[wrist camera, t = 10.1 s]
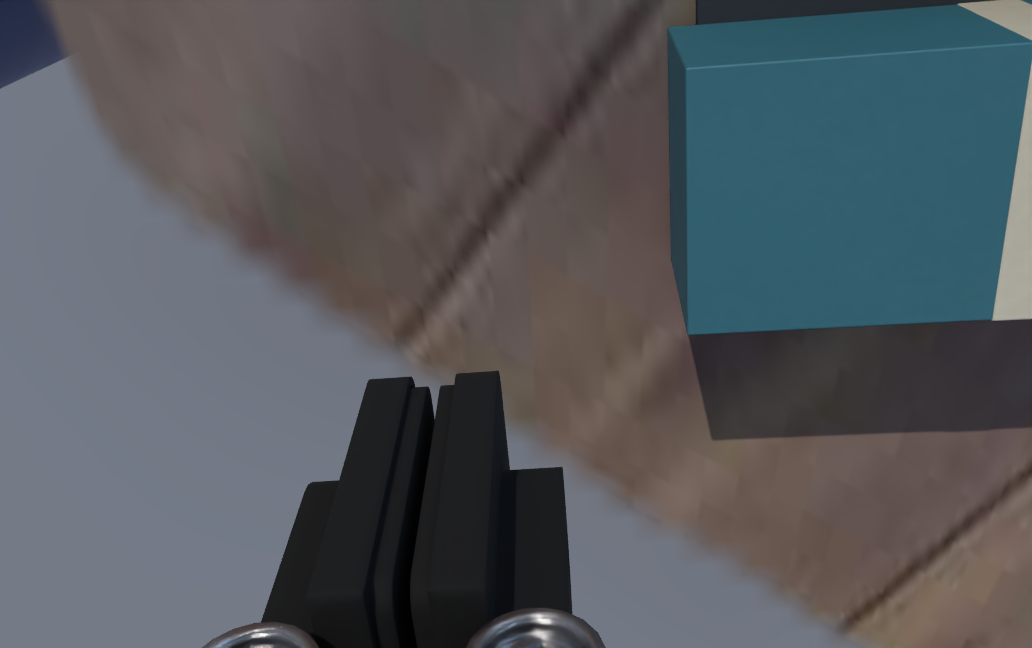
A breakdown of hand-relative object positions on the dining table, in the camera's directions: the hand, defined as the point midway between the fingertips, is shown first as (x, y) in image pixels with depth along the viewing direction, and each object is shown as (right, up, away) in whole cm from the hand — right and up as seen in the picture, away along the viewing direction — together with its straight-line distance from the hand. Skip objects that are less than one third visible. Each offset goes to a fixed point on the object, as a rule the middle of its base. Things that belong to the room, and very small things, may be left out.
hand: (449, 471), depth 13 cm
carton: (+5, +6, +14) cm, 16 cm away
